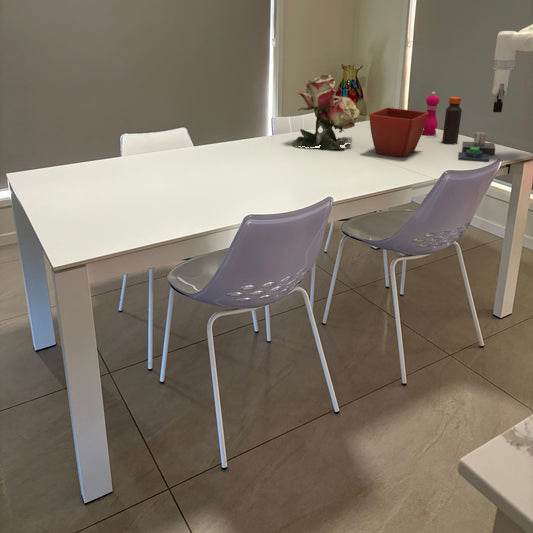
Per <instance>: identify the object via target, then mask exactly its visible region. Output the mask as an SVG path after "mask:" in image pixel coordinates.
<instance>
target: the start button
mask: <svg viewBox="0 0 533 533" xmlns="http://www.w3.org/2000/svg"><path fill="white" fill-rule="evenodd" d="M470 152H473V153H479V148H477V147H471V148H470Z"/></svg>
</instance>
